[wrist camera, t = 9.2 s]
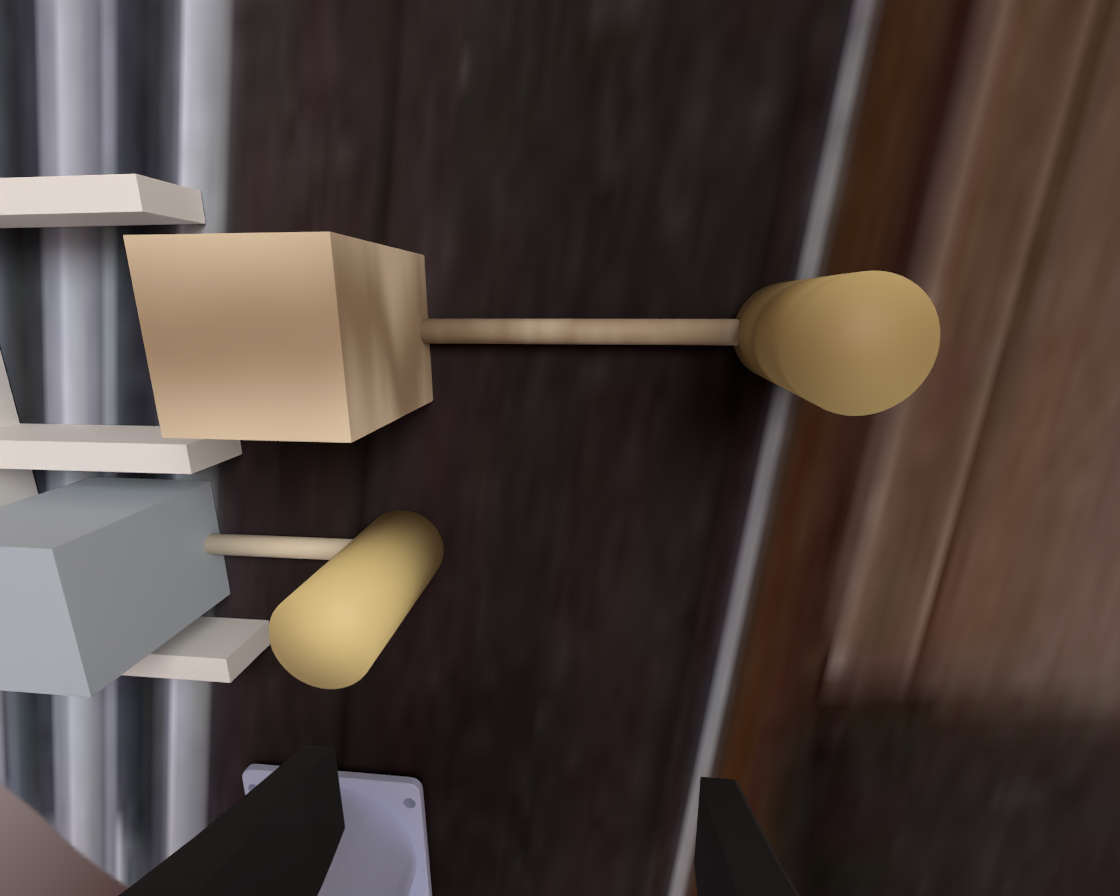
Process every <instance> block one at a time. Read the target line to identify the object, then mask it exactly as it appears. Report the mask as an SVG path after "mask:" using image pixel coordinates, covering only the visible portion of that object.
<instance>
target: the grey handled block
mask: <svg viewBox="0 0 1120 896" xmlns="http://www.w3.org/2000/svg"><path fill="white" fill-rule="evenodd" d="M224 555H234V556H255V557H277V558H298V559H320V560H329V561H328V562H327V563H326V564H325V565H324V566H322V567H321V568H320V569H319V570H318V571H317V572H316V573H315V574H313V575H312V576H311V577H310V578H309V579H308V580H307V581H305V582H304V583H303V584H302V585H301V586H300V587H299V588H298V589H296V590H295V591H294V592H293V593H292V594H291V595H290V596H288V597H287V598H286V599H285V600H284V601H283V602H282V603H281V604H279V605H278V607H277V608H276V609H275V611H274V612H273V614H272V617H271V619H270V623H269V640H270V644H271V647H272V650H273V652H274V654H275V656H276V658H277V659H278V661H279V662H280V663H281V665H282V666H283V667H284V668H285V669H286V670H287V671H288V672H289V673H290V674H291V675H293V676H294V677H295V678H297V679H299V680H300V681H302V682H304V683H306V684H309V685H311V686H314V687H318V688H324V689H339V688H344V687H347V686H350V685H352V684H354V683H356V682H358V681H359V680H360V679H361V678H363V677H364V675H365V674H366V673H367V672H368V670H369V669H370V667H371V666H372V664H373V663H374V662H375V660H376V659H377V657H378V656H379V654H380V653H381V651H382V650H383V648H384V647H385V646H386V644H387V643H388V641H389V640H390V638H391V637H392V635H393V634H394V632H395V631H396V630H397V628H398V627H399V625H400V624H401V622H402V621H403V619H404V618H405V616H406V615H407V614H408V612H409V611H410V609H411V608H412V606H413V605H414V603H415V602H416V600H417V599H418V598H419V596H420V595H421V593H422V592H423V590H424V589H425V587H426V586H427V584H428V583H429V582H430V580H431V579H432V577H433V576H434V574H435V573H436V571H437V570H438V568H439V567H440V565H441V563H442V560H443V555H444V547H443V542H442V538H441V536H440V534H439V532H438V530H437V529H436V527H435V526H434V525H433V524H432V523H431V522H430V521H429V520H428V519H427V518H425V517H423V516H422V515H420V514H418V513H415V512H413V511H408V510H393V511H389V512H386V513H384V514H382V515H381V516H379V517H378V518H377V519H376V520H375V521H374V522H372V523H371V524H370V525H369V526H368V527H367V528H366V529H364V530H363V531H362V532H361V533H360V534H359V535H358V536H357V537H355V538H354V539H337V538H313V537H289V536H266V535H242V534H220V532H219V527H218V521H217V516H216V510H215V504H214V499H213V493H212V487H211V482H210V481H202V480H170V479H138V478H106V477H90V478H87V479H84V480H81V481H78V482H75V483H72V484H69V485H66V486H63V487H60V488H57V489H54V490H50V491H47V492H44V493H41V494H38V495H35V496H32V497H29V498H26V499H23V500H20V501H17V502H14V503H11V504H8V505H5V506H2V507H0V690H3V691H16V692H29V693H41V694H54V695H67V696H80V697H92V696H94V695H95V694H96V693H98V692H99V691H101V690H102V689H103V688H105V687H106V686H107V685H109V684H110V683H111V682H113V681H114V680H115V679H117V678H118V677H119V676H121V675H122V674H123V673H125V672H126V671H127V670H129V669H130V668H131V667H133V666H134V665H135V664H137V663H138V662H140V661H141V660H142V659H144V658H145V657H146V656H148V655H149V654H150V653H152V652H153V651H154V650H156V649H157V648H158V647H160V646H161V645H162V644H164V643H165V642H166V641H168V640H169V639H170V638H172V637H173V636H175V635H176V634H177V633H179V632H180V631H181V630H183V629H184V628H185V627H187V626H188V625H189V624H191V623H192V622H193V621H195V620H196V619H197V618H199V617H200V616H201V615H203V614H204V613H205V612H207V611H208V610H210V609H211V608H212V607H214V606H215V605H216V604H218V603H219V602H220V601H222V600H223V599H224V598H226V597H227V596H228V595H230V589H229V583H228V577H227V572H226V566H225V560H224Z"/></svg>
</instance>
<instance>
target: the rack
mask: <svg viewBox="0 0 1120 896" xmlns="http://www.w3.org/2000/svg"><path fill="white" fill-rule="evenodd" d="M170 224H206V223H205V217H204V211H203V204H202V198H201V192H200V191H198V190H194V189H190V188H186V187H183V186H179V185H175V184H172V183H168V182H164V181H161V180H157V179H153V178H149V177H146V176H142V175H138V174H113V175H82V176H51V177H20V178H0V228H31V227H78V226H124V225H170ZM241 454H242V449H241V442H240V440H225V439H187V438H162V434H161V429H160V426H123V425H72V424H21V423H19V419H18V415H17V411H16V408H15V404H14V400H13V396H12V392H11V389H10V385H9V381H8V377H7V374H6V370H5V366H4V362H3V358H2V355H1V351H0V507H2V506H5V505H8V504H11V503H14V502H17V501H20V500H23V499H26V498H29V497H32V496H35V495H38V491H37V487H36V483H35V480H34V476H33V472H32V469H33V470H68V471H102V472H136V473H170V474H193V473H196V472H198V471H201V470H203V469H206V468H208V467H211V466H213V465H216V464H218V463H221V462H223V461H226V460H228V459H231V458H233V457H236V456H238V455H241ZM269 645H270V640H269V620H253V619H236V618H219V617H201V616H200V617H199V618H197V619H196V620H195V621H193V622H192V623H191V624H189V625H188V626H187V627H185V628H184V629H183V630H181V631H180V632H179V633H177V634H176V635H175V636H173V637H172V638H170V639H169V640H168V641H166V642H165V643H164V644H162V645H161V646H160V647H158V648H157V649H156V650H154V651H153V652H152V653H150V654H149V655H148V656H146V657H145V658H144V659H142V660H141V661H140V662H138V663H137V664H135V665H134V666H133V667H131V668H130V669H129V670H127V671H126V672H125V673H123V674H122V675H127V676H141V677H155V678H169V679H183V680H197V681H212V682H226V683H231V682H232V681H233V680H234V679H235V678H236V677H237V676H238V675H239V674H240V673H241V672H242V671H243V670H244V669H245V668H246V667H247V666H248V665H249V664H250V663H251V662H252V661H253V660H254V659H255V658H256V657H257V656H259V655H260V654H261V653H262V652H263V651H264V650H265V649H266V648H267V647H268V646H269Z"/></svg>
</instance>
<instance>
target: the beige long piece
mask: <svg viewBox="0 0 1120 896" xmlns="http://www.w3.org/2000/svg"><path fill="white" fill-rule="evenodd" d="M123 238H124V243H125V248H126V253H127V258H128V264H129V269H130V274H131V279H132V284H133V289H134V294H135V300H136V305H137V310H138V315H139V320H140V325H141V331H142V336H143V341H144V346H145V351H146V356H147V362H148V367H149V372H150V377H151V382H152V387H153V393H154V398H155V403H156V408H157V413H158V418H159V423H160V429H161V434H162V438H187V439H225V440H263V441H302V442H340V443H352V442H354V441H356V440H358V439H360V438H362V437H364V436H366V435H367V434H369V433H371V432H373V431H375V430H377V429H379V428H381V427H383V426H385V425H387V424H389V423H391V422H393V421H395V420H397V419H399V418H400V417H402V416H404V415H406V414H408V413H410V412H412V411H414V410H416V409H418V408H420V407H422V406H424V405H426V404H428V403H430V402H431V401H433V392H432V376H431V359H430V343H441V344H598V345H734V348H735V351H736V354H737V356H738V358H739V359H740V361H741V362H742V363H743V365H744V366H745V367H746V368H748V369H749V370H750V371H752V372H753V373H755V374H757V375H759V376H761V377H763V378H765V379H767V380H768V381H770V382H772V383H774V384H776V385H778V386H780V387H782V388H784V389H786V390H788V391H790V392H792V393H794V394H796V395H798V396H800V397H802V398H804V399H805V400H807V401H809V402H811V403H813V404H815V405H817V406H819V407H821V408H823V409H825V410H827V411H830V412H833V413H836V414H841V415H849V416H862V415H869V414H874V413H877V412H881V411H884V410H886V409H888V408H891V407H893V406H895V405H896V404H898V403H900V402H901V401H903V400H904V399H906V398H907V397H909V396H910V395H911V394H912V393H913V392H914V391H915V390H916V389H917V388H918V387H919V386H920V385H921V384H922V382H923V381H924V380H925V378H926V377H927V375H928V374H929V372H930V370H931V368H932V367H933V365H934V362H935V359H936V357H937V353H938V349H939V344H940V325H939V319H938V315H937V312H936V309H935V307H934V305H933V303H932V302H931V300H930V299H929V297H928V296H927V294H926V293H925V292H924V291H923V290H922V289H921V288H920V287H919V286H918V285H916V284H915V283H913V282H912V281H911V280H909V279H907V278H905V277H903V276H900V275H897V274H894V273H890V272H885V271H862V272H855V273H848V274H840V275H833V276H825V277H818V278H811V279H803V280H796V281H789V282H781V283H776V284H772V285H769V286H766V287H764V288H762V289H760V290H759V291H757V292H755V293H754V294H753V295H752V296H750V297H749V298H748V299H747V301H746V302H745V303H744V304H743V305H742V307H741V308H740V310H739V312H738V314H737V316H736V319H428V311H427V294H426V278H425V262H424V255H421V254H417V253H413V252H409V251H405V250H401V249H397V248H393V247H389V246H385V245H381V244H377V243H373V242H369V241H365V240H361V239H357V238H353V237H349V236H345V235H341V234H337V233H333V232H282V233H219V234H156V235H123Z"/></svg>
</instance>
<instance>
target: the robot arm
mask: <svg viewBox="0 0 1120 896" xmlns="http://www.w3.org/2000/svg"><path fill="white" fill-rule="evenodd" d="M242 779H243V785H244V790H245V796H244V797H243V798H241V799H240V800H239V801H238V802H237V803H235V804H234V805H233V806H232V807H231V808H229V809H228V810H227V811H226V812H225V813H223V814H222V815H221V816H220V817H218V818H217V819H216V820H215V821H214V822H212V823H211V824H210V825H209V826H208V827H206V828H205V829H204V830H203V831H202V832H200V833H199V834H198V835H197V836H195V837H194V838H193V839H192V840H190V841H189V842H188V843H186V844H185V845H184V846H183V847H181V848H180V849H179V850H177V851H176V852H175V853H174V854H172V855H171V856H170V857H168V858H167V859H166V860H165V861H163V862H162V863H161V864H159V865H158V866H157V867H155V868H154V869H153V870H152V871H150V872H149V873H148V874H146V875H145V876H144V877H143V878H141V879H140V880H139V881H137V882H136V883H135V884H134V885H132V886H131V887H130V888H128V889H127V890H125V891H124V892H123V893H121V894H120V895H119V896H432V888H431V876H430V865H429V853H428V841H427V830H426V818H425V806H424V795H423V786H422V784H421V783H420V781H419V780H417V779H416V778H412V777H403V776H392V775H380V774H369V773H357V772H346V771H338V770H337V762H336V755H335V747H331V746H318V745H305V746H303V747H302V748H301V749H300V750H298V751H297V752H296V753H295V754H294V755H292V756H291V757H290V758H289V759H288V760H286V761H285V762H284V763H283V764H282V765H280V766H277V765H265V764H251V765H249V766H248V767H247V769H246V770H245V771H244V773H243V774H242ZM409 798H410V799H409ZM411 799H412V800H411ZM694 864H695V874H696V885H697V895H698V896H800V895H799V894H798V892H797V890H796V889H795V887H794V885H793V884H792V882H791V881H790V879H789V877H788V876H787V874H786V872H785V870H784V869H783V867H782V865H781V863H780V862H779V860H778V858H777V856H776V855H775V853H774V851H773V849H772V847H771V846H770V844H769V842H768V840H767V838H766V837H765V835H764V833H763V831H762V829H761V827H760V825H759V823H758V822H757V820H756V818H755V816H754V814H753V812H752V810H751V808H750V806H749V804H748V802H747V800H746V798H745V796H744V794H743V791H742V789H741V787H740V785H739V784H738V783H737V782H736V781H735V780H732V779H720V778H708V777H701V780H700V794H699V807H698V820H697V833H696V846H695V860H694Z"/></svg>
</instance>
